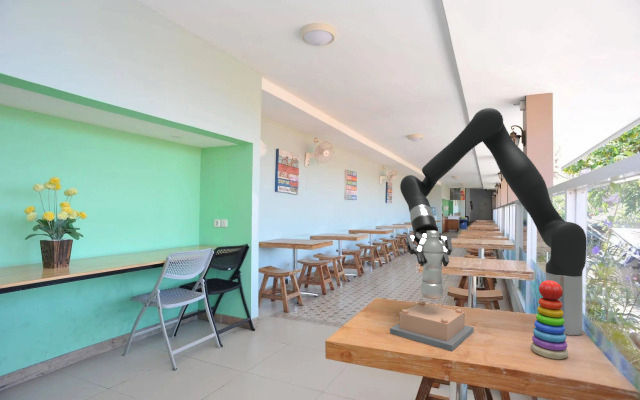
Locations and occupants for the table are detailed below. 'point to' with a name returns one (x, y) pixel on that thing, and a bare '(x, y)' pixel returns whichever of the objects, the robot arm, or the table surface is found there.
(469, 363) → the table surface
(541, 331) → the stacking toy
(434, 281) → the plastic bottle
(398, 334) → the brick tower base
